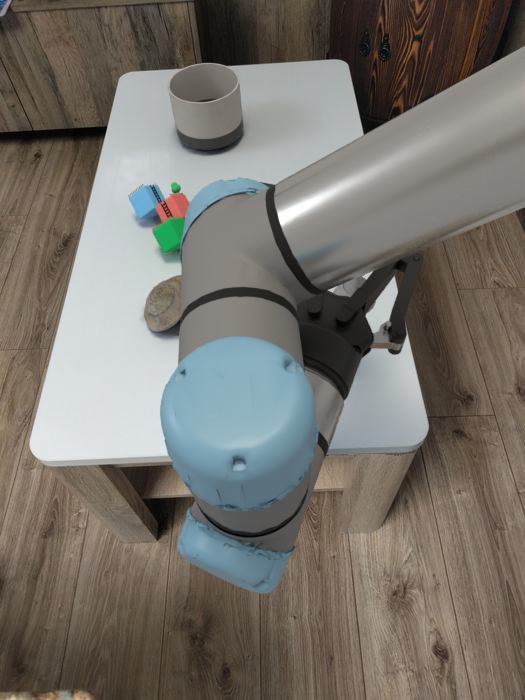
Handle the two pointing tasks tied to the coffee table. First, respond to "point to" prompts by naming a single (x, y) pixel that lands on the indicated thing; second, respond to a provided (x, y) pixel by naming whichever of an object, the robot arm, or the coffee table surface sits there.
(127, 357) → the coffee table surface
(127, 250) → the coffee table surface
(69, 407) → the coffee table surface
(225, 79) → the planter
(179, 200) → the building blocks
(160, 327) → the fossilized seashell
